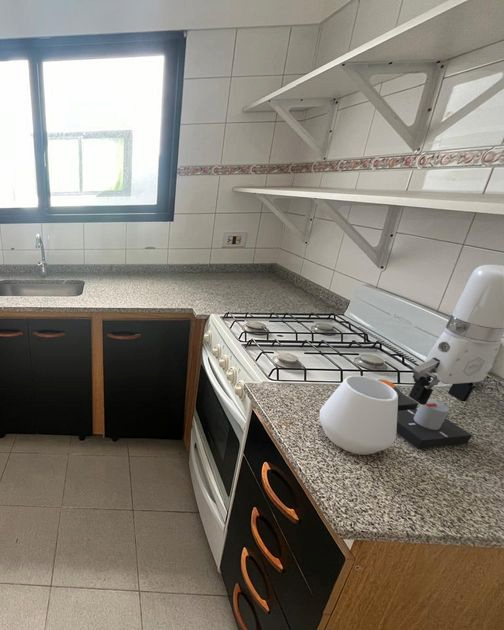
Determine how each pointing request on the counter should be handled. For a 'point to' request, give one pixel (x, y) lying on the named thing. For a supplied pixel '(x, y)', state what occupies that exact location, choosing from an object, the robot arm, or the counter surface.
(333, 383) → the counter surface
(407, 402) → the block
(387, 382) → the button
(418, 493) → the counter surface
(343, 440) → the cup
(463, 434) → the timer panel
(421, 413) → the timer knob
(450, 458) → the counter surface
